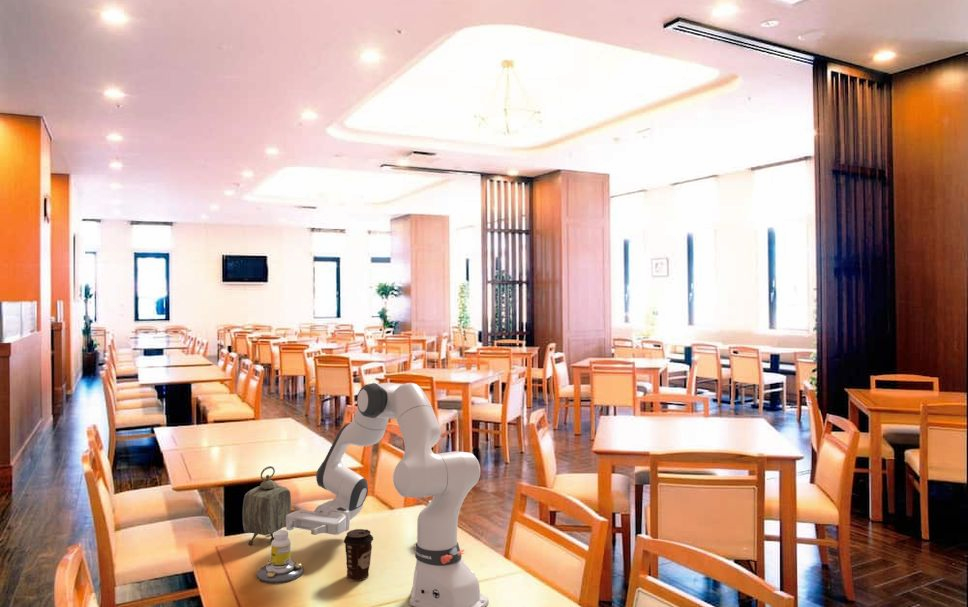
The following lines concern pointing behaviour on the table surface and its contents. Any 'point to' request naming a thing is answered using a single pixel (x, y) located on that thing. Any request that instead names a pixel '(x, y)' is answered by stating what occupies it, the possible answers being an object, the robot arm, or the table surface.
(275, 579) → the stand
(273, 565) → the supplement bottle
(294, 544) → the table surface
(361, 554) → the coffee cup
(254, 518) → the tabletop clock
